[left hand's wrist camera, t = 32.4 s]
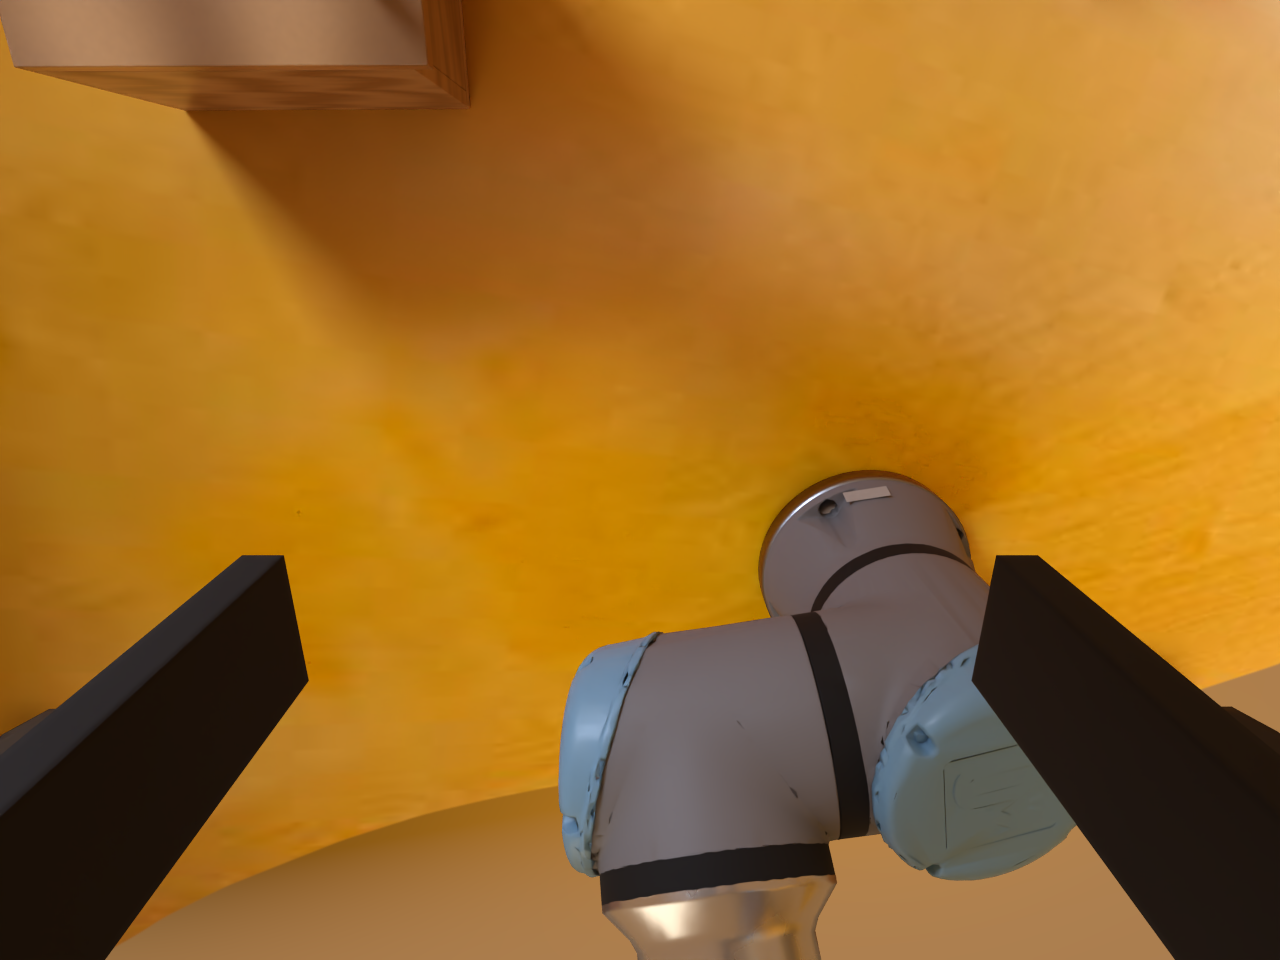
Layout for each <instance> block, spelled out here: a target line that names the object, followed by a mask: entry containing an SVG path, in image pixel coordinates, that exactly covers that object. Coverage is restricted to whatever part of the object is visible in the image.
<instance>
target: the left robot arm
mask: <svg viewBox="0 0 1280 960" xmlns="http://www.w3.org/2000/svg"><path fill="white" fill-rule="evenodd" d="M758 572H759V582H760V588H761V591H762V594H763V598H764V601H765V604H766V607H767V609H768V611H769V614H770V616H771V618H766V619H759V620H753V621H747V622H740V623H734V624H728V625H721V626H715V627H708V628H701V629H693V630H686V631H679V632H672V633H663V632H653V633H651V634H649V635H648V636H646V637H644V638H639V639H635V640H630V641H626V642H621V643H616V644H611V645H606V646H603V647H600V648H598V649H596V650H595V651H593V652H592V653H590V654H589V655H588V656H587V657H586V658H585V659H584V661H583V662H582V664H581V665H580V666H579V668H578V670H577V673H576V675H575V677H574V679H573V681H572V684H571V687H570V690H569V694H568V698H567V702H566V707H565V713H564V719H563V726H562V733H561V744H560V758H559V806H560V811H561V813H563V825H562V835H563V842H564V847H565V851H566V855H567V857H568V860H569V862H570V864H571V865H572V867H573V868H574V869H575V870H577V871H578V872H581V873H585V874H586V875H588V876H589V877H596V876H600V886H601V901H602V913H603V914H604V915H605V916H606V917H607V918H608V919H609V920H610V921H611V922H612V923H613V924H614V925H615V926H616V927H617V928H618V929H619V930H620V931H621V932H622V933H623V934H624V935H625V936H626V937H627V938H628V939H629V940H630V942H631V943H632V945H633V947H634V949H635V950H636V952H637V957H638V960H821V956H820V952H819V947H818V942H817V937H816V932H815V928H816V924H817V920H818V917H819V915H820V913H821V911H822V909H823V908H824V906H825V904H826V902H827V900H828V898H829V897H830V895H831V893H832V891H833V889H834V887H835V886H836V884H837V881H836V875H835V872H834V867H833V863H832V858H831V854H830V850H829V841H832V840H839V839H845V838H853V837H860V836H869V835H876V834H881V835H882V838H883V840H884V842H885V843H887V844H888V846H889V848H891V849H893V850H894V851H895V853H896V854H897V855H898V856H899V857H900V858H901V859H902V860H903V861H904V862H906V863H907V864H908V865H909V866H911V867H913V868H915V869H918V870H923V869H925V868H926V870H927V871H928V873H929V874H931V875H932V876H934V877H937V878H941V879H946V880H979V879H985V878H990V877H995V876H998V875H1002V874H1005V873H1008V872H1011V871H1014V870H1016V869H1019V868H1021V867H1023V866H1025V865H1027V864H1029V863H1031V862H1033V861H1035V860H1036V859H1038V858H1040V857H1042V856H1043V855H1045V854H1046V853H1048V852H1049V851H1050V850H1051V849H1053V848H1054V847H1055V846H1057V845H1058V844H1059V843H1061V842H1062V841H1063V840H1064V839H1065V838H1066V837H1067V835H1068V833H1069V832H1070V831H1071V829H1072V828H1074V827H1075V826H1076V825H1077V826H1078V827H1079V829H1080V830H1081V832H1082V833H1083V834H1084V836H1085V837H1086V838H1087V840H1088V841H1089V842H1090V844H1091V845H1092V847H1093V848H1094V849H1095V851H1096V852H1097V854H1098V855H1099V856H1100V858H1101V859H1102V860H1103V862H1104V863H1105V864H1106V866H1107V867H1108V869H1109V870H1110V871H1111V873H1112V874H1113V875H1114V877H1115V878H1116V880H1117V881H1118V882H1119V884H1120V885H1121V886H1122V888H1123V889H1124V891H1125V892H1126V893H1127V895H1128V896H1129V897H1130V899H1131V900H1132V901H1133V903H1134V904H1135V906H1136V907H1137V908H1138V910H1139V911H1140V912H1141V914H1142V915H1143V916H1144V918H1145V919H1146V921H1147V922H1148V923H1149V925H1150V926H1151V927H1152V929H1153V930H1154V931H1155V933H1156V934H1157V936H1158V937H1159V938H1160V940H1161V941H1162V943H1163V944H1164V945H1165V947H1166V948H1167V949H1168V951H1169V952H1170V953H1171V955H1172V956H1173V958H1174V959H1175V960H1280V733H1279V732H1277V731H1275V730H1274V729H1272V728H1270V727H1268V726H1266V725H1264V724H1263V723H1261V722H1259V721H1257V720H1255V719H1253V718H1251V717H1250V716H1248V715H1246V714H1244V713H1242V712H1240V711H1239V710H1237V709H1235V708H1233V707H1221V706H1220V705H1218V704H1217V703H1216V702H1215V701H1213V700H1212V699H1211V698H1210V697H1209V696H1208V695H1206V694H1205V693H1204V692H1203V691H1202V690H1200V689H1199V688H1198V687H1197V686H1195V685H1194V684H1193V683H1192V682H1191V681H1189V680H1188V679H1187V678H1186V677H1185V676H1183V675H1182V674H1181V673H1180V672H1178V671H1177V670H1176V669H1175V668H1174V667H1172V666H1171V665H1170V664H1169V663H1168V662H1166V661H1165V660H1164V659H1163V658H1162V657H1160V656H1159V655H1158V654H1157V653H1155V652H1154V651H1153V650H1152V649H1151V648H1149V647H1148V646H1147V645H1146V644H1145V643H1143V642H1142V641H1141V640H1140V639H1139V638H1137V637H1136V636H1135V635H1134V634H1132V633H1131V632H1130V631H1129V630H1128V629H1126V628H1125V627H1124V626H1123V625H1122V624H1120V623H1119V622H1118V621H1117V620H1116V619H1114V618H1113V617H1112V616H1111V615H1109V614H1108V613H1107V612H1106V611H1105V610H1103V609H1102V608H1101V607H1100V606H1099V605H1097V604H1096V603H1095V602H1094V601H1092V600H1091V599H1090V598H1089V597H1088V596H1086V595H1085V594H1084V593H1083V592H1082V591H1080V590H1079V589H1078V588H1077V587H1076V586H1074V585H1073V584H1072V583H1071V582H1069V581H1068V580H1067V579H1066V578H1065V577H1063V576H1062V575H1061V574H1060V573H1059V572H1057V571H1056V570H1055V569H1054V568H1053V567H1051V566H1050V565H1049V564H1048V563H1046V562H1045V561H1044V560H1043V559H1042V558H1040V557H1039V556H1038V555H996V559H995V564H994V569H993V574H992V579H991V584H990V586H989V585H988V584H987V583H986V582H985V581H984V580H983V579H982V578H981V577H980V576H978V575H977V573H976V572H975V569H974V565H973V562H972V560H971V554H970V549H969V543H968V540H967V536H966V533H965V531H964V529H963V526H962V524H961V523H960V521H959V519H958V518H957V516H956V515H955V514H954V512H953V511H952V510H951V509H950V508H949V507H948V505H947V504H946V503H944V502H943V501H942V500H941V499H940V498H939V497H938V496H937V495H936V494H934V493H933V492H932V491H931V490H930V489H928V488H927V487H925V486H924V485H923V484H921V483H919V482H917V481H915V480H913V479H911V478H909V477H906V476H904V475H900V474H897V473H892V472H887V471H878V470H861V471H852V472H847V473H842V474H839V475H835V476H832V477H830V478H827V479H824V480H822V481H820V482H818V483H816V484H814V485H812V486H811V487H809V488H807V489H806V490H804V491H803V492H801V493H800V494H799V495H797V496H796V497H795V498H794V499H793V500H791V501H790V502H789V503H788V504H787V505H786V506H785V507H784V508H783V509H782V511H781V512H780V513H779V514H778V516H777V517H776V518H775V520H774V521H773V523H772V524H771V526H770V528H769V530H768V532H767V534H766V536H765V539H764V541H763V544H762V548H761V551H760V557H759V567H758ZM308 681H309V680H308V675H307V670H306V665H305V660H304V655H303V650H302V645H301V640H300V635H299V630H298V625H297V620H296V615H295V610H294V605H293V600H292V595H291V589H290V584H289V579H288V574H287V569H286V564H285V559H284V555H242V556H241V557H240V558H238V559H237V560H236V561H235V562H234V563H232V564H231V565H230V566H229V567H227V568H226V569H225V570H224V571H223V572H221V573H220V574H219V575H218V576H217V577H215V578H214V579H213V580H212V581H211V582H209V583H208V584H207V585H206V586H204V587H203V588H202V589H201V590H200V591H198V592H197V593H196V594H195V595H194V596H192V597H191V598H190V599H189V600H188V601H186V602H185V603H184V604H183V605H181V606H180V607H179V608H178V609H177V610H175V611H174V612H173V613H172V614H171V615H169V616H168V617H167V618H166V619H164V620H163V621H162V622H161V623H160V624H158V625H157V626H156V627H155V628H154V629H152V630H151V631H150V632H149V633H148V634H146V635H145V636H144V637H143V638H141V639H140V640H139V641H138V642H137V643H135V644H134V645H133V646H132V647H131V648H129V649H128V650H127V651H126V652H125V653H123V654H122V655H121V656H120V657H118V658H117V659H116V660H115V661H114V662H112V663H111V664H110V665H109V666H108V667H106V668H105V669H104V670H103V671H102V672H100V673H99V674H98V675H97V676H95V677H94V678H93V679H92V680H91V681H89V682H88V683H87V684H86V685H85V686H83V687H82V688H81V689H80V690H78V691H77V692H76V693H75V694H74V695H72V696H71V697H70V698H69V699H68V700H66V701H65V702H64V703H63V704H62V705H60V706H59V707H58V708H57V709H49V710H47V711H45V712H43V713H41V714H39V715H38V716H36V717H34V718H32V719H30V720H28V721H27V722H25V723H23V724H21V725H19V726H17V727H16V728H14V729H12V730H10V731H8V732H6V733H5V734H3V735H2V736H0V960H105V959H106V958H107V956H108V955H109V954H110V952H111V951H112V949H113V948H114V947H115V945H116V944H117V943H118V941H119V940H120V938H121V937H122V936H123V934H124V933H125V932H126V930H127V929H128V927H129V926H130V925H131V923H132V922H133V921H134V919H135V918H136V917H137V915H138V914H139V912H140V911H141V910H142V908H143V907H144V906H145V904H146V903H147V901H148V900H149V899H150V897H151V896H152V895H153V893H154V892H155V891H156V889H157V888H158V886H159V885H160V884H161V882H162V881H163V880H164V878H165V877H166V875H167V874H168V873H169V871H170V870H171V869H172V867H173V866H174V864H175V863H176V862H177V860H178V859H179V858H180V856H181V855H182V854H183V852H184V851H185V849H186V848H187V847H188V845H189V844H190V843H191V841H192V840H193V838H194V837H195V836H196V834H197V833H198V832H199V830H200V829H201V828H202V826H203V825H204V823H205V822H206V821H207V819H208V818H209V817H210V815H211V814H212V812H213V811H214V810H215V808H216V807H217V806H218V804H219V803H220V801H221V800H222V799H223V797H224V796H225V795H226V793H227V792H228V791H229V789H230V788H231V786H232V785H233V784H234V782H235V781H236V780H237V778H238V777H239V775H240V774H241V773H242V771H243V770H244V769H245V767H246V766H247V765H248V763H249V762H250V760H251V759H252V758H253V756H254V755H255V754H256V752H257V751H258V749H259V748H260V747H261V745H262V744H263V743H264V741H265V740H266V738H267V737H268V736H269V734H270V733H271V732H272V730H273V729H274V728H275V726H276V725H277V723H278V722H279V721H280V719H281V718H282V717H283V715H284V714H285V712H286V711H287V710H288V708H289V707H290V706H291V704H292V703H293V702H294V700H295V699H296V697H297V696H298V695H299V693H300V692H301V691H302V689H303V688H304V686H305V685H306V684H307V682H308Z"/></svg>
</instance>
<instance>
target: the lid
mask: <svg viewBox="0 0 1280 960" xmlns="http://www.w3.org/2000/svg"><path fill="white" fill-rule="evenodd" d="M0 17H1V21H2V24H3V28H4V32H5V35H6V39H7V42H8V46H9V49H10V53H11V57H12V60H13V64H14V67H16V68H20V69H24V70H28V71H32V72H61V71H245V70H429V69H433V68H434V67H433V56H432V46H431V35H430V25H429V14H428V4H427V0H0Z"/></svg>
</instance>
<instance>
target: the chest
mask: <svg viewBox="0 0 1280 960" xmlns="http://www.w3.org/2000/svg"><path fill="white" fill-rule="evenodd" d="M427 4H428V14H429V25H430V35H431V46H432V56H433V67H434V68H433V69H429V70H245V71H61V72H36V73H40V74H43V75H47V76H51V77H55V78H59V79H63V80H67V81H71V82H75V83H79V84H83V85H86V86H90V87H94V88H98V89H102V90H106V91H110V92H114V93H118V94H122V95H126V96H130V97H133V98H137V99H141V100H145V101H149V102H153V103H157V104H161V105H165V106H169V107H173V108H177V109H181V110H334V109H469V108H470V99H469V87H468V74H467V62H466V50H465V37H464V25H463V12H462V0H427Z"/></svg>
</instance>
